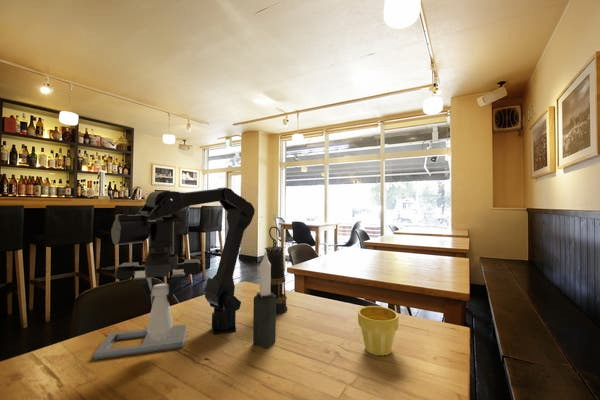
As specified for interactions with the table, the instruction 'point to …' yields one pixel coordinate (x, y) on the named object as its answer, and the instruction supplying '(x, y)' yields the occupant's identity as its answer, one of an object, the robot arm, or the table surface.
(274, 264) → the lantern
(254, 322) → the candle
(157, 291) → the salt shaker
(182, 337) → the rail plate
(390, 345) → the plant pot
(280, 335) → the table surface
